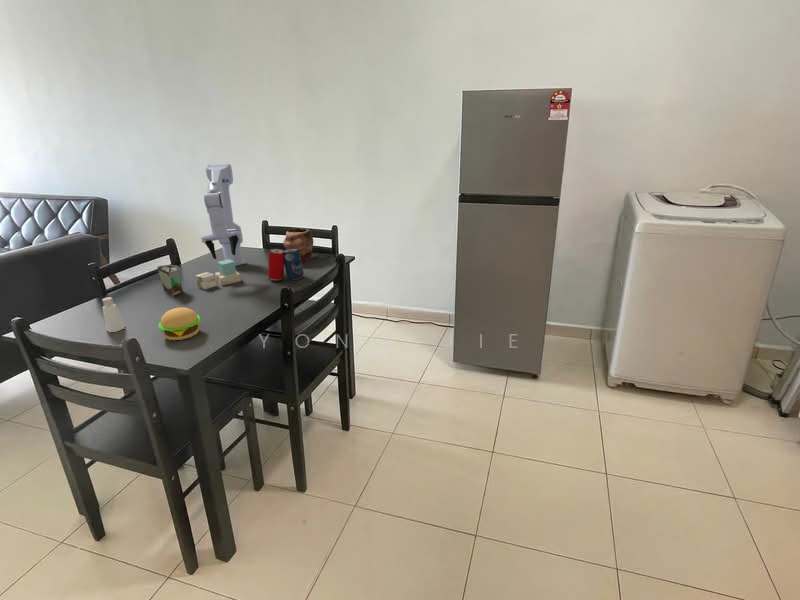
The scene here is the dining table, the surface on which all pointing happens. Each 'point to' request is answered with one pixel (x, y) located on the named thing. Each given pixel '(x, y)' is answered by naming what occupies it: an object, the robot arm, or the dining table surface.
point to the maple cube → (205, 280)
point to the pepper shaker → (112, 316)
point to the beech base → (227, 278)
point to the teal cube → (226, 267)
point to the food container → (171, 279)
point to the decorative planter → (300, 242)
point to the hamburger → (179, 323)
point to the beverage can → (276, 264)
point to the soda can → (293, 264)
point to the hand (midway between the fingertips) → (224, 256)
